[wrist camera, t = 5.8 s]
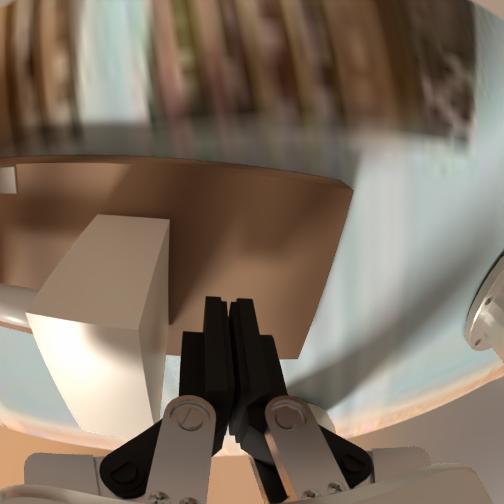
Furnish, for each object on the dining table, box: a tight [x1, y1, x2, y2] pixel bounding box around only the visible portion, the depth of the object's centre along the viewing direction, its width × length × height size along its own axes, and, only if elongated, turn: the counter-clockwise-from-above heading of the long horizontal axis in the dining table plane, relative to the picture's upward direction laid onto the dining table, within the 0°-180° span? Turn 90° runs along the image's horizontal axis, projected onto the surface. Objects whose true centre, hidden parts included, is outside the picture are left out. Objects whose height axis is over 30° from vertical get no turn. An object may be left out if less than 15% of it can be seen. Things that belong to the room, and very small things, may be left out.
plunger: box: [0, 214, 170, 440], centre depth 9 cm, size 10×6×6 cm, turn 81°
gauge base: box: [0, 155, 354, 359], centre depth 10 cm, size 26×10×8 cm, turn 81°
